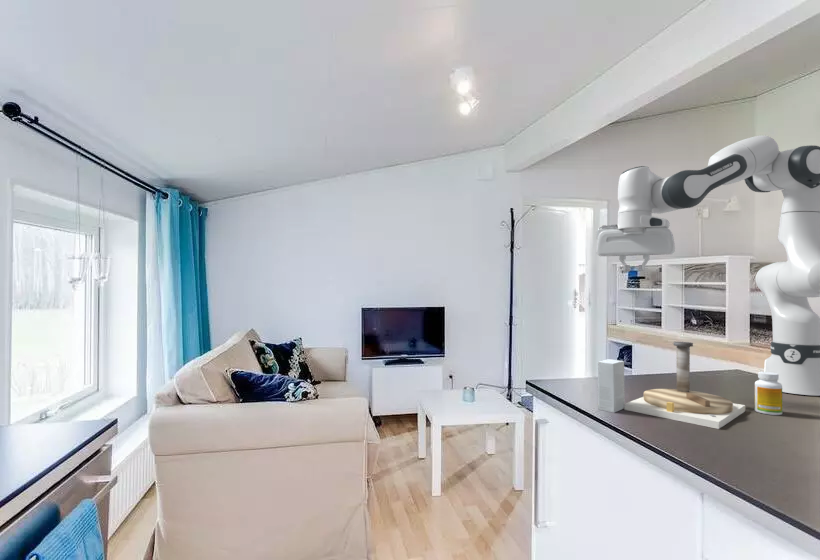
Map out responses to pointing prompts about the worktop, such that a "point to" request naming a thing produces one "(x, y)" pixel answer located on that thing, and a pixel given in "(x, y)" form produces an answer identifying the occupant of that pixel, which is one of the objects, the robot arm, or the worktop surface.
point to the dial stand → (685, 413)
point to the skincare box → (611, 385)
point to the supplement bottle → (768, 394)
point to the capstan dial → (687, 390)
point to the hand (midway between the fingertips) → (634, 271)
